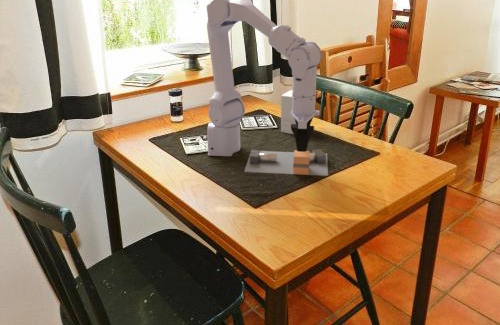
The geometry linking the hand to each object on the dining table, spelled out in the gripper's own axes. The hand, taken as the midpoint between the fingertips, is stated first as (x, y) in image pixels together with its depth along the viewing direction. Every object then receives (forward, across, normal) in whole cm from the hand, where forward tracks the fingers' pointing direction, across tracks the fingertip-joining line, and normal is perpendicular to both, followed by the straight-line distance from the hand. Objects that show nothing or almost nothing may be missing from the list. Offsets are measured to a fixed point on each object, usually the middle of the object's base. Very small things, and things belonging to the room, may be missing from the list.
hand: (302, 145), depth 117 cm
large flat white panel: (+8, +5, +4) cm, 11 cm away
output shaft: (+8, +6, -2) cm, 11 cm away
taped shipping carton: (+8, 0, 0) cm, 8 cm away
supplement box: (+9, +32, +3) cm, 33 cm away
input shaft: (+8, +5, +11) cm, 14 cm away
